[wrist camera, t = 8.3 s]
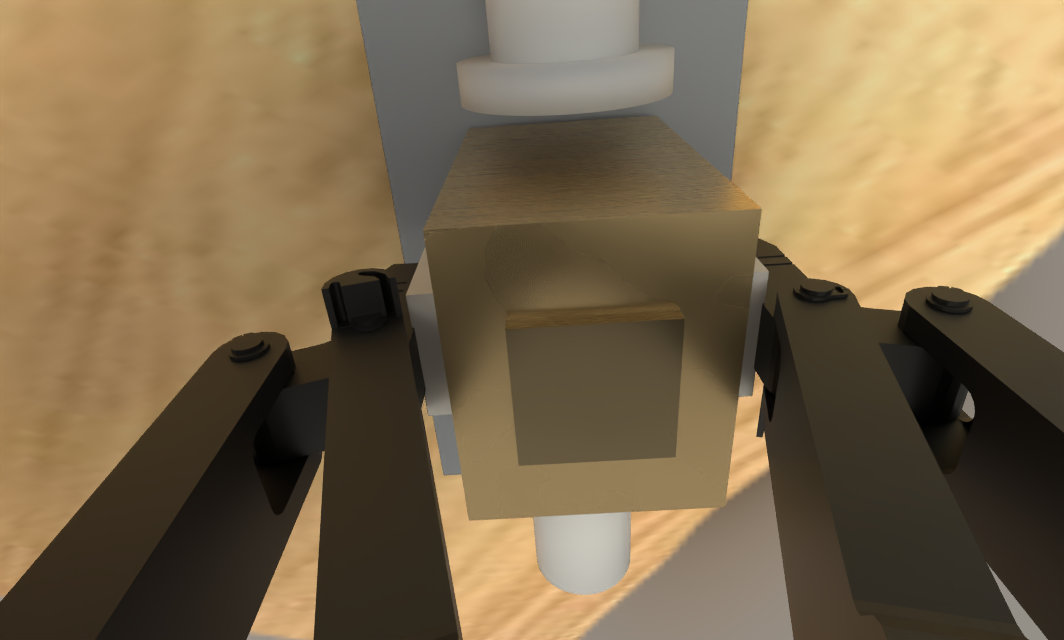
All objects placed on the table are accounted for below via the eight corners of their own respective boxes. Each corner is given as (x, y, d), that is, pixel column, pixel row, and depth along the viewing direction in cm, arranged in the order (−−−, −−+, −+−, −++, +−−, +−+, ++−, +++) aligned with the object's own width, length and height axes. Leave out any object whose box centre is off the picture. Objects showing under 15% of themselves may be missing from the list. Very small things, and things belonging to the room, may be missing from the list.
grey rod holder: (448, 449, 24) (418, 625, 17) (338, -181, 15) (177, -335, 8) (694, 433, 24) (762, 606, 17) (747, -215, 14) (947, -402, 8)
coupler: (490, 324, 19) (467, 532, 11) (468, 128, 16) (419, 237, 9) (649, 315, 19) (729, 518, 11) (656, 115, 16) (768, 215, 8)
